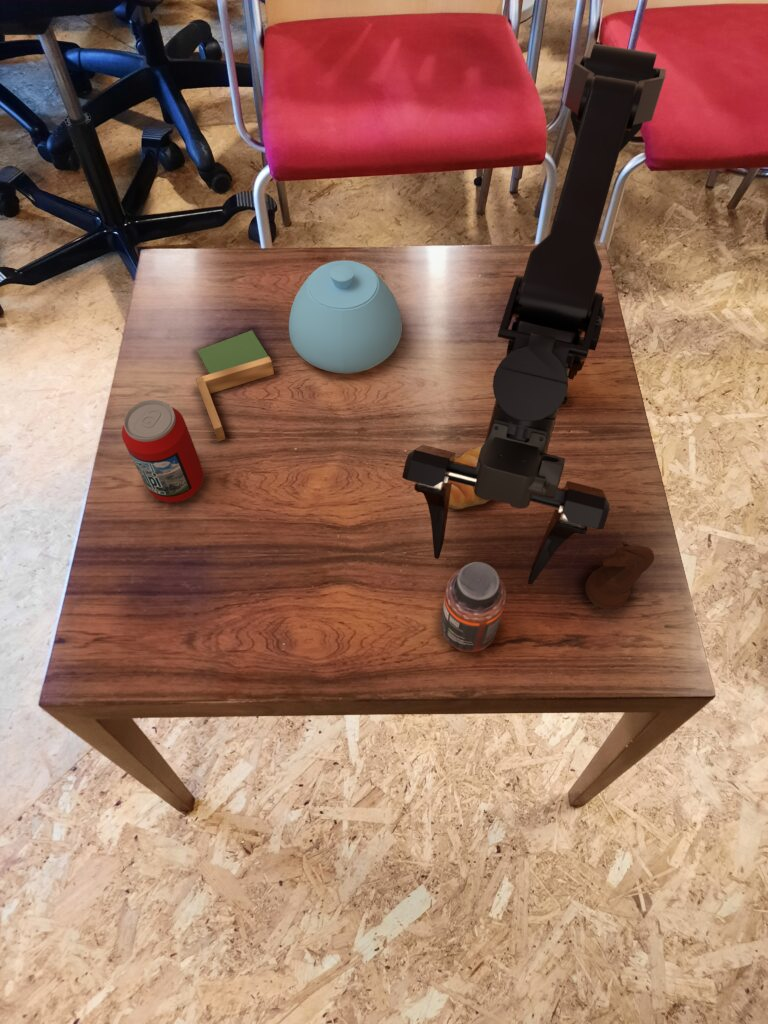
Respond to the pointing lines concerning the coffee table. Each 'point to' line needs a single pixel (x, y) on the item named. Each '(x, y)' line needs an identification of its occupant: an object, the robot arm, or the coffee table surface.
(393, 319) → the sugar bowl
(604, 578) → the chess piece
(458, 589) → the supplement bottle
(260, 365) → the corner guard
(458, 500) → the pastry
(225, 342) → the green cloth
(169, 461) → the beverage can
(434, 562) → the coffee table surface
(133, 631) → the coffee table surface
